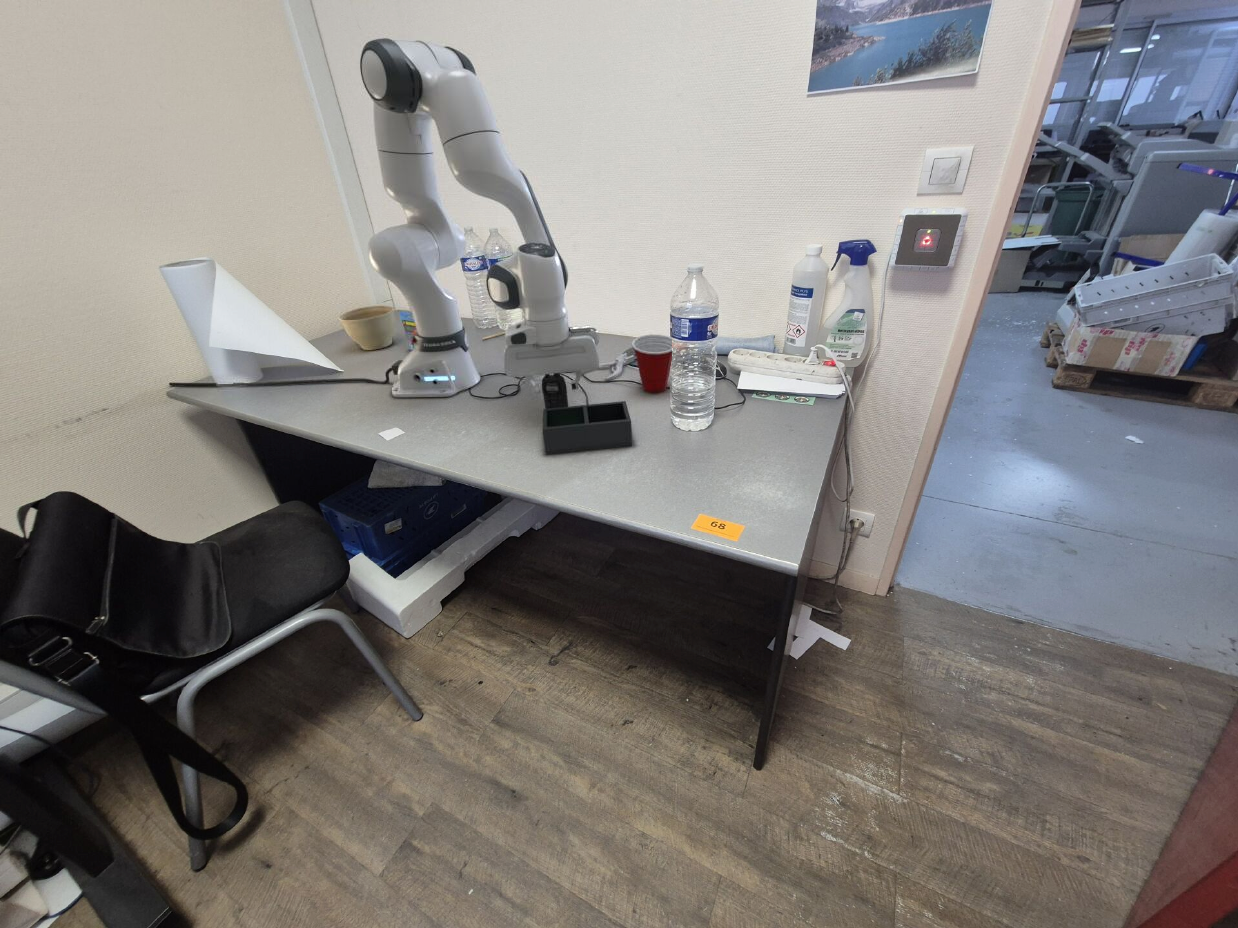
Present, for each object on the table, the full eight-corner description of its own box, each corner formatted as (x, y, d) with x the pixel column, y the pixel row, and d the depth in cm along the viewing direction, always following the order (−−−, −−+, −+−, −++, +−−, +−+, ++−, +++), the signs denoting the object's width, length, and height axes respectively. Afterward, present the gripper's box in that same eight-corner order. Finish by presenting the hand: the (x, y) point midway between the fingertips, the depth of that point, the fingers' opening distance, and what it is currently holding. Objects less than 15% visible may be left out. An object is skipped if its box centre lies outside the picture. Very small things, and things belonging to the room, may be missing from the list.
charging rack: (632, 446, 101) (631, 420, 98) (546, 454, 100) (542, 429, 97) (626, 425, 109) (625, 400, 106) (546, 433, 108) (543, 408, 105)
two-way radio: (544, 420, 113) (534, 356, 105) (549, 411, 117) (541, 349, 109) (568, 421, 112) (560, 357, 104) (572, 412, 116) (565, 349, 108)
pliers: (580, 367, 134) (616, 350, 144) (580, 373, 135) (617, 356, 145) (607, 375, 129) (643, 357, 138) (608, 381, 130) (643, 363, 139)
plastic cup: (647, 401, 118) (646, 353, 112) (625, 386, 126) (623, 339, 120) (685, 391, 122) (686, 343, 116) (662, 376, 130) (662, 331, 124)
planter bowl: (384, 334, 174) (374, 303, 168) (412, 342, 165) (403, 308, 160) (340, 349, 163) (328, 315, 157) (367, 357, 155) (356, 322, 149)
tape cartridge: (438, 350, 157) (427, 310, 150) (428, 354, 154) (417, 314, 148) (419, 346, 161) (408, 307, 155) (409, 350, 159) (398, 311, 152)
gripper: (596, 320, 107) (601, 380, 114) (500, 329, 106) (511, 389, 113) (598, 329, 102) (603, 392, 109) (497, 338, 100) (509, 401, 108)
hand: (555, 390), depth 111 cm, fingers open, 7 cm apart
